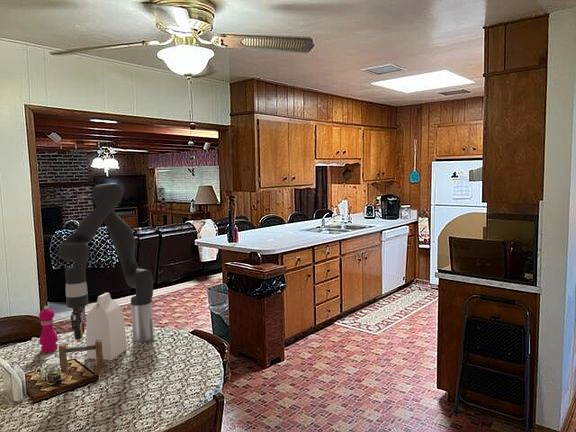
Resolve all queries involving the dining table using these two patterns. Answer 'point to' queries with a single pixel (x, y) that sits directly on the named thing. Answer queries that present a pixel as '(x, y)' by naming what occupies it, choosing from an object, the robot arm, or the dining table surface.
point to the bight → (81, 333)
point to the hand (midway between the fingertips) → (79, 336)
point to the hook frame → (97, 346)
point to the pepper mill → (47, 331)
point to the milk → (106, 328)
